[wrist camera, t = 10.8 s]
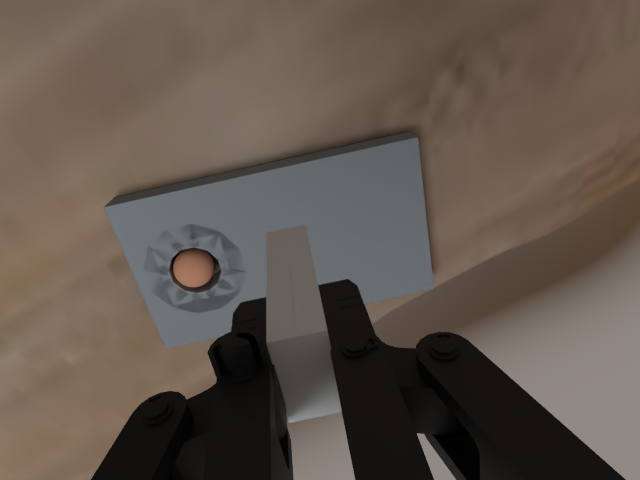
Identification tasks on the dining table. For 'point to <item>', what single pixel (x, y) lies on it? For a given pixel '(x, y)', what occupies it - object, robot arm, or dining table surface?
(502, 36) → the dining table surface
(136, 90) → the dining table surface
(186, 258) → the ball
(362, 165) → the plate
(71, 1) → the dining table surface
